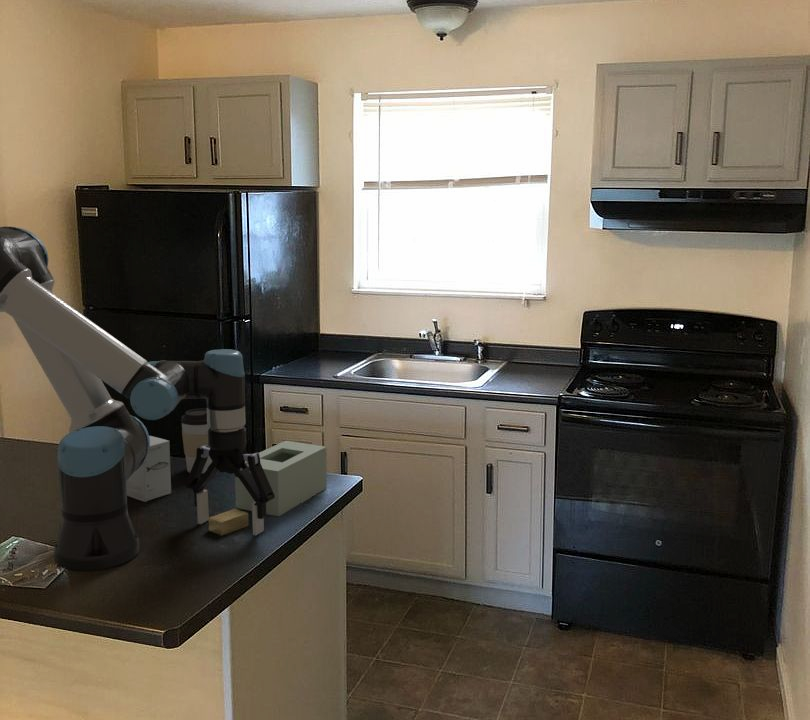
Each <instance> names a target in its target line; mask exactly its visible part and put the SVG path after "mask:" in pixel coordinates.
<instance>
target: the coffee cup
mask: <svg viewBox="0 0 810 720" xmlns="http://www.w3.org/2000/svg"><path fill="white" fill-rule="evenodd" d="M180 423H181V428H182V429H181V434H182V436H181V437H182V443H183V452H184V455H185V463H186V471H187V472H188V473H190V472H191V469H192V467H193V464H194V462H195V459H196V453H197V448H199V447H201V446H204V445H208V430H209V427H208V426H207V408H192V409H189V410H186V411H185V413H184V414H183V415H182V416H181V417H180ZM208 447H209V445H208ZM209 448H210V447H209ZM211 463H212V460H211V458H210V456H209V457H208V459H207V461H206V464H205V466H204V468H203V471H202V473H201V475H203V474H204V473H205V472H206V470H207V468H208V466H209V465H210V464H211Z"/></svg>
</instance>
